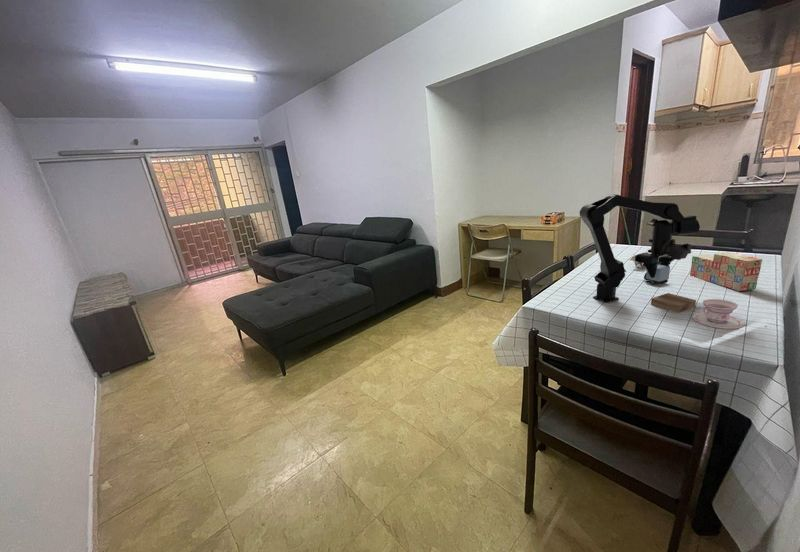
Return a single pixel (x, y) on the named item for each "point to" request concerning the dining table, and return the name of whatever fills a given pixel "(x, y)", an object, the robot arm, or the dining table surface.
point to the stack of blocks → (727, 270)
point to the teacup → (718, 314)
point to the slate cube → (660, 273)
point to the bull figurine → (635, 261)
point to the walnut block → (673, 302)
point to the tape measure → (654, 281)
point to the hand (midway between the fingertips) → (657, 276)
